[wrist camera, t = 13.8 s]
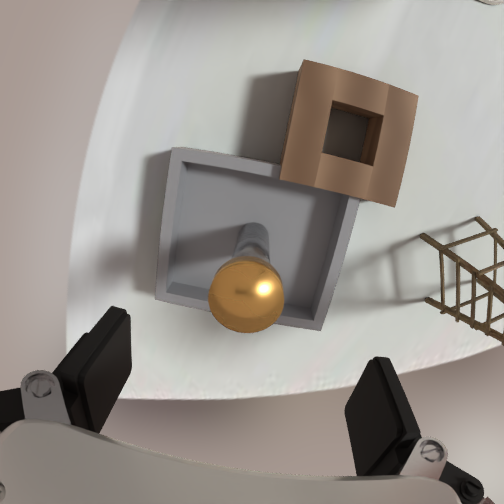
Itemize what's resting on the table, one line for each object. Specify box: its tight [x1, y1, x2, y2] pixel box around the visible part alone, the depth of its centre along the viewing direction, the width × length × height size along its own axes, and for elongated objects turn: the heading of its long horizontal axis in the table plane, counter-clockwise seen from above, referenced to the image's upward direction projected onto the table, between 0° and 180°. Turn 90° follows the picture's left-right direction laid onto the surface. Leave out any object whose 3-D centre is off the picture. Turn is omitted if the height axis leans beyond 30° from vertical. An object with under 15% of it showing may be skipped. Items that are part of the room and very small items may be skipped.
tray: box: [155, 147, 360, 331], centre depth 29 cm, size 16×14×3 cm
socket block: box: [279, 60, 418, 207], centre depth 25 cm, size 10×10×4 cm
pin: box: [208, 222, 284, 333], centre depth 23 cm, size 4×4×12 cm
